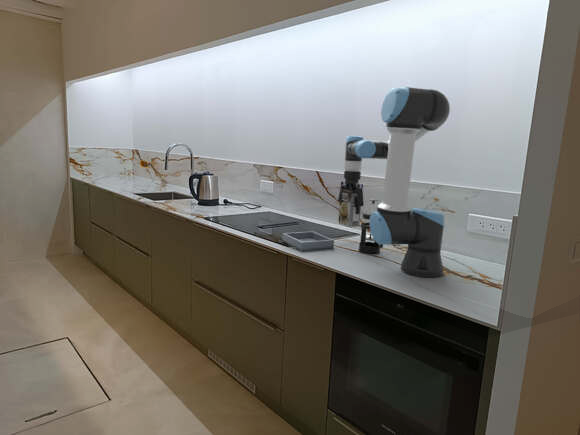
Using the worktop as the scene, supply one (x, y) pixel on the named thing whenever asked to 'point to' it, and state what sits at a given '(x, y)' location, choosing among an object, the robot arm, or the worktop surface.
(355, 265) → the worktop surface
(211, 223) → the worktop surface
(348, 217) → the coffee box
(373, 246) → the french press
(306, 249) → the bin
